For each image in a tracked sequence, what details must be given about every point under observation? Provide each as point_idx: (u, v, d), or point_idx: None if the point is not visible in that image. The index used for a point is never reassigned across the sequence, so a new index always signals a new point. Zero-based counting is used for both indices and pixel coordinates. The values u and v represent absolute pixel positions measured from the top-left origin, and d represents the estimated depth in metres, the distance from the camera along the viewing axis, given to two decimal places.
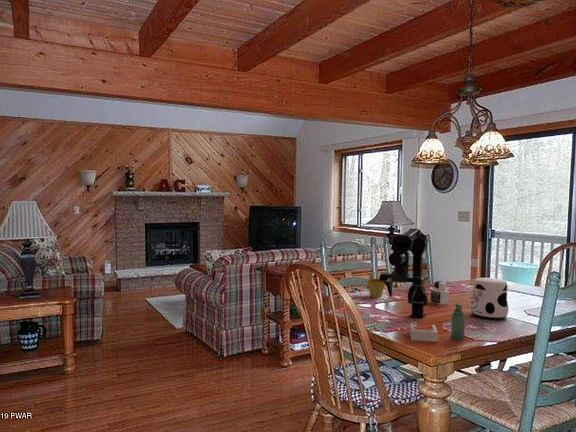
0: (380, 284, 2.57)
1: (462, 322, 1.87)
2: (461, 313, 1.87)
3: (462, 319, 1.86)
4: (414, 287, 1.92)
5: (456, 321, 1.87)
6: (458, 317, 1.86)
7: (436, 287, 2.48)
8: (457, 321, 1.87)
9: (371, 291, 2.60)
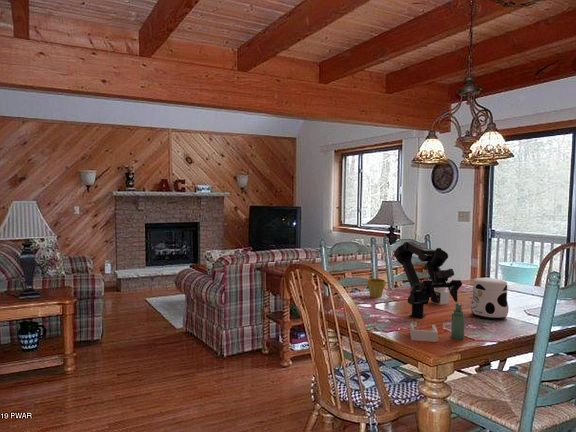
0: (380, 284, 2.57)
1: (462, 322, 1.87)
2: (461, 313, 1.87)
3: (462, 319, 1.86)
4: (457, 287, 2.00)
5: (456, 321, 1.87)
6: (458, 317, 1.86)
7: None
8: (457, 321, 1.87)
9: (371, 291, 2.60)
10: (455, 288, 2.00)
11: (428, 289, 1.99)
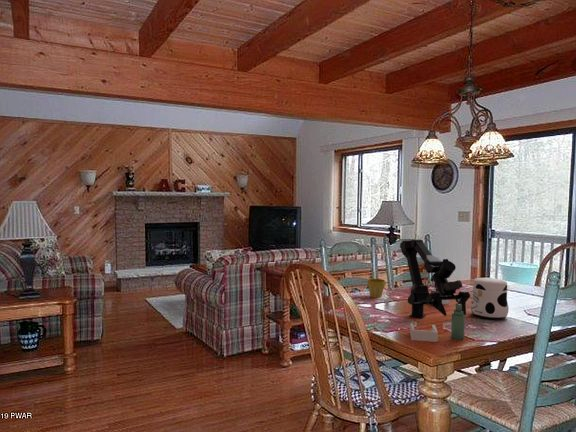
0: (380, 284, 2.57)
1: (462, 322, 1.87)
2: (461, 313, 1.87)
3: (462, 319, 1.86)
4: (465, 299, 1.94)
5: (456, 321, 1.87)
6: (458, 317, 1.86)
7: None
8: (457, 321, 1.87)
9: (371, 291, 2.60)
10: (463, 300, 1.94)
11: (436, 301, 1.93)
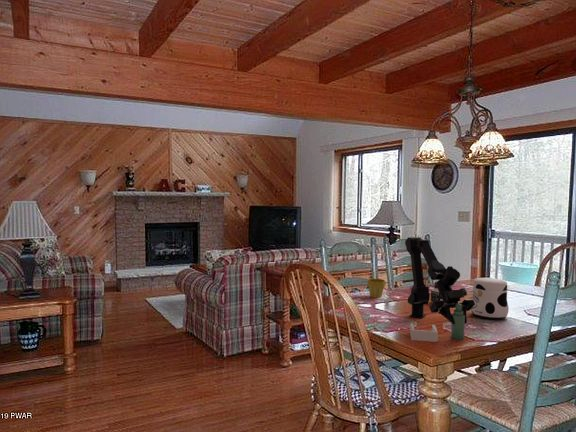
0: (380, 284, 2.57)
1: (462, 322, 1.87)
2: (461, 313, 1.87)
3: (462, 319, 1.86)
4: (466, 308, 1.91)
5: (456, 321, 1.87)
6: (458, 317, 1.86)
7: None
8: (457, 321, 1.87)
9: (371, 291, 2.60)
10: (464, 309, 1.91)
11: (444, 309, 1.90)
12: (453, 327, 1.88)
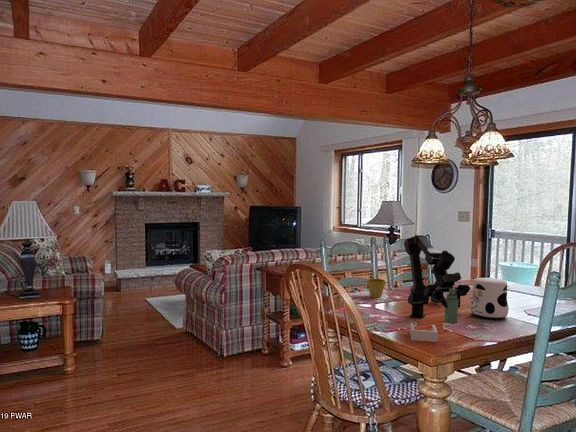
0: (380, 284, 2.57)
1: (455, 306, 1.86)
2: (454, 297, 1.86)
3: (455, 303, 1.86)
4: (460, 292, 1.90)
5: (449, 305, 1.86)
6: (451, 301, 1.86)
7: None
8: (449, 305, 1.86)
9: (371, 291, 2.60)
10: (458, 293, 1.90)
11: (437, 293, 1.90)
12: (446, 311, 1.87)
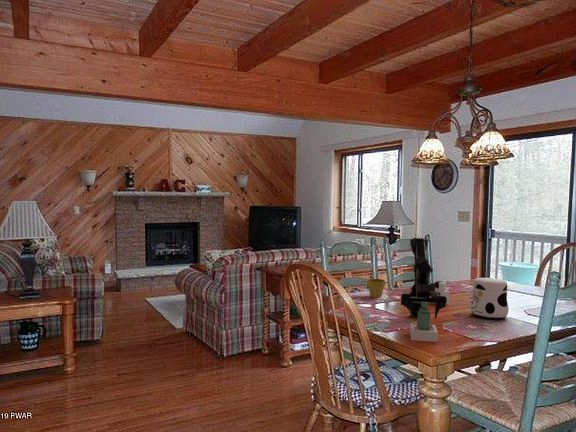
0: (380, 284, 2.57)
1: (425, 320, 1.87)
2: (425, 311, 1.88)
3: (425, 317, 1.87)
4: (439, 303, 1.89)
5: (419, 318, 1.88)
6: (421, 314, 1.88)
7: (436, 287, 2.48)
8: (419, 318, 1.88)
9: (371, 291, 2.60)
10: (437, 304, 1.89)
11: (407, 302, 1.93)
12: (417, 324, 1.90)
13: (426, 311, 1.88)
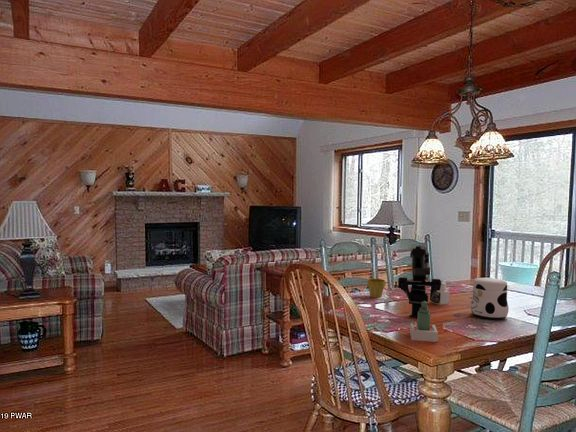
0: (380, 284, 2.57)
1: (425, 320, 1.87)
2: (425, 311, 1.87)
3: (425, 317, 1.87)
4: (434, 286, 2.01)
5: (419, 318, 1.88)
6: (421, 314, 1.87)
7: None
8: (420, 318, 1.88)
9: (371, 291, 2.60)
10: (432, 287, 2.01)
11: (403, 286, 2.05)
12: (417, 324, 1.90)
13: (426, 311, 1.87)
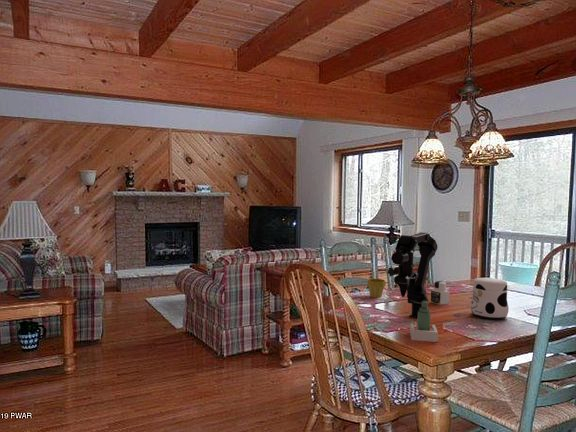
0: (380, 284, 2.57)
1: (425, 319, 1.87)
2: (425, 310, 1.88)
3: (425, 316, 1.87)
4: None
5: (419, 318, 1.88)
6: (421, 314, 1.88)
7: (436, 287, 2.48)
8: (419, 318, 1.88)
9: (371, 291, 2.60)
10: None
11: None
12: (417, 323, 1.90)
13: (426, 311, 1.88)
